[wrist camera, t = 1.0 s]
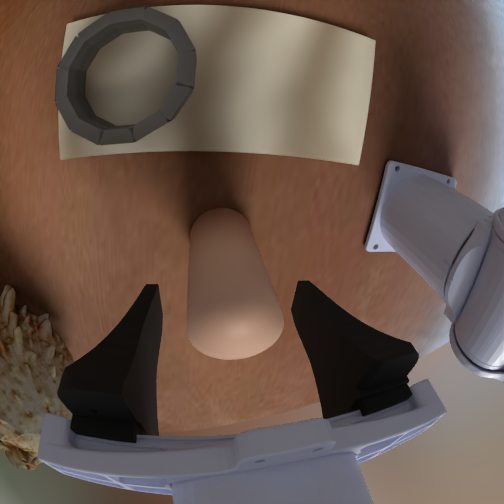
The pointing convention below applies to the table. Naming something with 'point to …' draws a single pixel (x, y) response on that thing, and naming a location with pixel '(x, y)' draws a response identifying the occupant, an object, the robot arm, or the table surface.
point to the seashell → (27, 379)
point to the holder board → (213, 84)
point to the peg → (229, 289)
